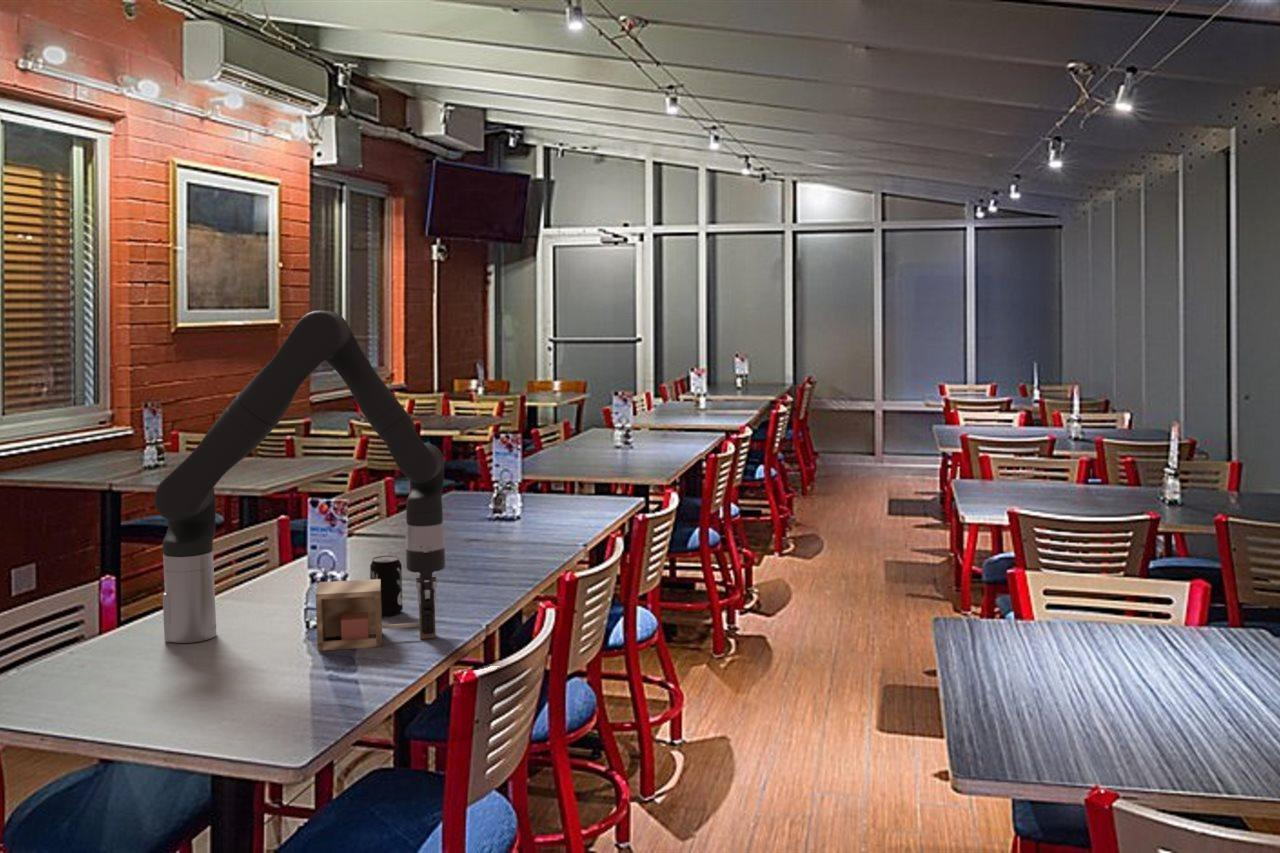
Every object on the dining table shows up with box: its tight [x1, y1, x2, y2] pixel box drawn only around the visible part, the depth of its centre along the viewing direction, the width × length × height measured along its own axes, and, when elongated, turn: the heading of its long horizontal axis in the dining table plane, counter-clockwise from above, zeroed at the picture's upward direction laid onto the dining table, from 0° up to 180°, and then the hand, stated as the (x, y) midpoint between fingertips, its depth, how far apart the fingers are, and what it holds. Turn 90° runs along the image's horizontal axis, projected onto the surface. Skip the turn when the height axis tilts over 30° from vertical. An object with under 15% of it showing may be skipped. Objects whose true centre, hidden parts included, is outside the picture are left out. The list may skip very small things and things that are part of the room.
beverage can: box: [369, 554, 404, 617], centre depth 249 cm, size 7×7×12 cm
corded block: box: [340, 602, 437, 640], centre depth 230 cm, size 18×5×7 cm, turn 102°
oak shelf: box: [315, 579, 383, 652], centre depth 228 cm, size 12×10×11 cm
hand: (427, 630), depth 231 cm, fingers closed on corded block, 3 cm apart
